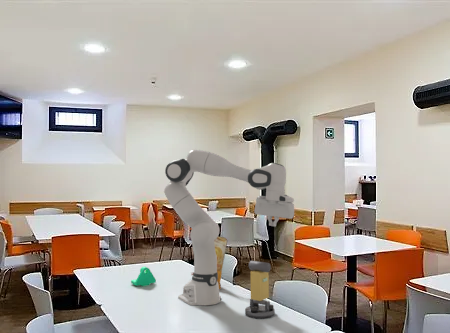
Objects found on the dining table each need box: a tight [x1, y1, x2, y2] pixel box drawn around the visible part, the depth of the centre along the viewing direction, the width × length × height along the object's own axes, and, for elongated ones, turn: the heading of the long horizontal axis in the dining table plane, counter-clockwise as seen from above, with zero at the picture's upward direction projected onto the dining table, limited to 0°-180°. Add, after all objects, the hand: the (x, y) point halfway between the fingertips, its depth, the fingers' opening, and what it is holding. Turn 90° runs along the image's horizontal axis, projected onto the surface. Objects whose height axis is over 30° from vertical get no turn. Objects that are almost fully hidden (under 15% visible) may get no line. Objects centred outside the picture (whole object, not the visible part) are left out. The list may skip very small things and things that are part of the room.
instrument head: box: [248, 260, 272, 306], centre depth 189 cm, size 9×7×18 cm
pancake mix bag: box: [214, 235, 228, 290], centre depth 238 cm, size 7×19×28 cm, turn 34°
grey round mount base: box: [244, 298, 276, 320], centre depth 189 cm, size 13×13×6 cm
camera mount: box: [130, 266, 157, 287], centre depth 242 cm, size 12×8×10 cm, turn 126°
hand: (272, 226), depth 203 cm, fingers closed
